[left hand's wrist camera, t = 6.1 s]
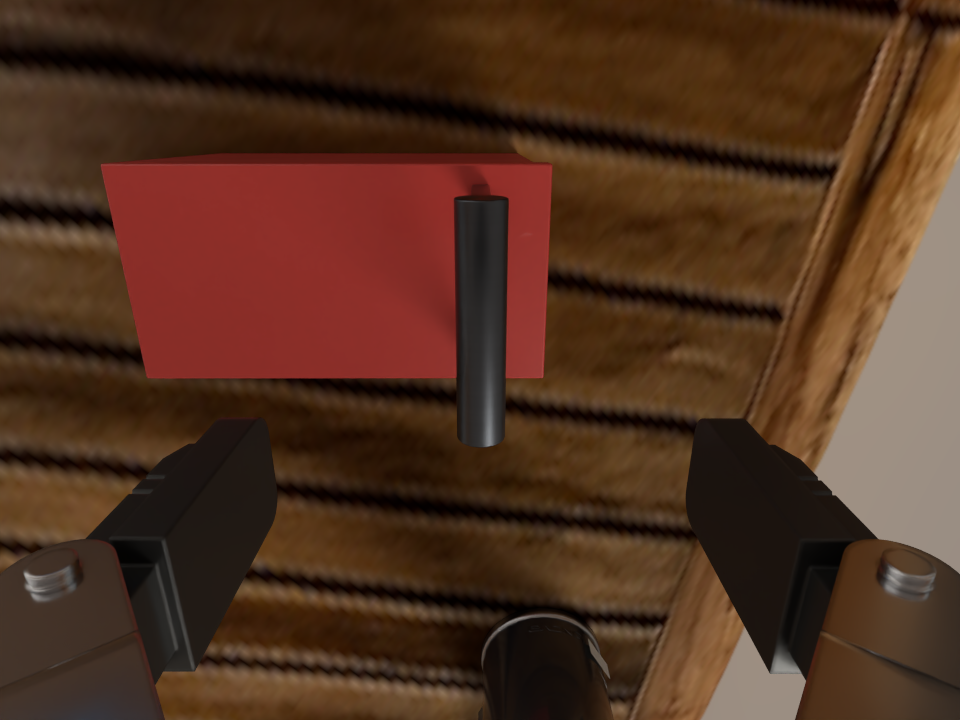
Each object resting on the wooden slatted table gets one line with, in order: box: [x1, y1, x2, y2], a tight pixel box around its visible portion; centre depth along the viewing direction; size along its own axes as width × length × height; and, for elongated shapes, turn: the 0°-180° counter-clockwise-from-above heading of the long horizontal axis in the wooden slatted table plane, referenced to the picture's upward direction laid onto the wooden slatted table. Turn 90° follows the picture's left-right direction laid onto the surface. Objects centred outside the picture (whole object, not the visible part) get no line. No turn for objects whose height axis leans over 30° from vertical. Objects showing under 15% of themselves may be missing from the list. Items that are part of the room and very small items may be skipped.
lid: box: [101, 162, 552, 447], centre depth 22 cm, size 18×9×8 cm, turn 90°
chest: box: [126, 153, 532, 162], centre depth 31 cm, size 17×9×11 cm, turn 90°
